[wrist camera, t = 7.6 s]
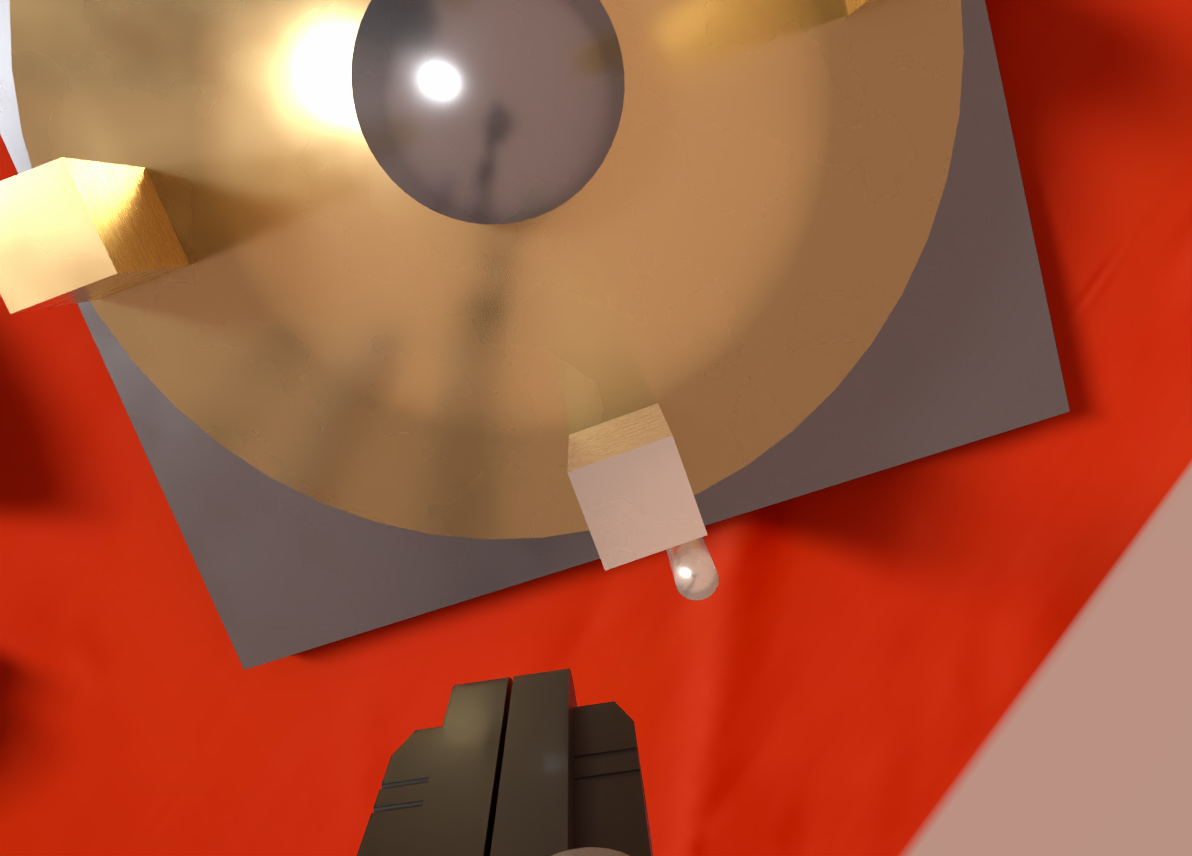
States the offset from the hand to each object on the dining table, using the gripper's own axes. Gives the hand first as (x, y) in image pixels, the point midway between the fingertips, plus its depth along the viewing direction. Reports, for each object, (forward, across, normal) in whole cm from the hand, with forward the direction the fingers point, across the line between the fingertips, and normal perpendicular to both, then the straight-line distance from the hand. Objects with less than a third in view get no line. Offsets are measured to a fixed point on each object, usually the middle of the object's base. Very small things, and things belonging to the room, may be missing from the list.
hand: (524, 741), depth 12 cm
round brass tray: (+15, 0, -10) cm, 18 cm away
